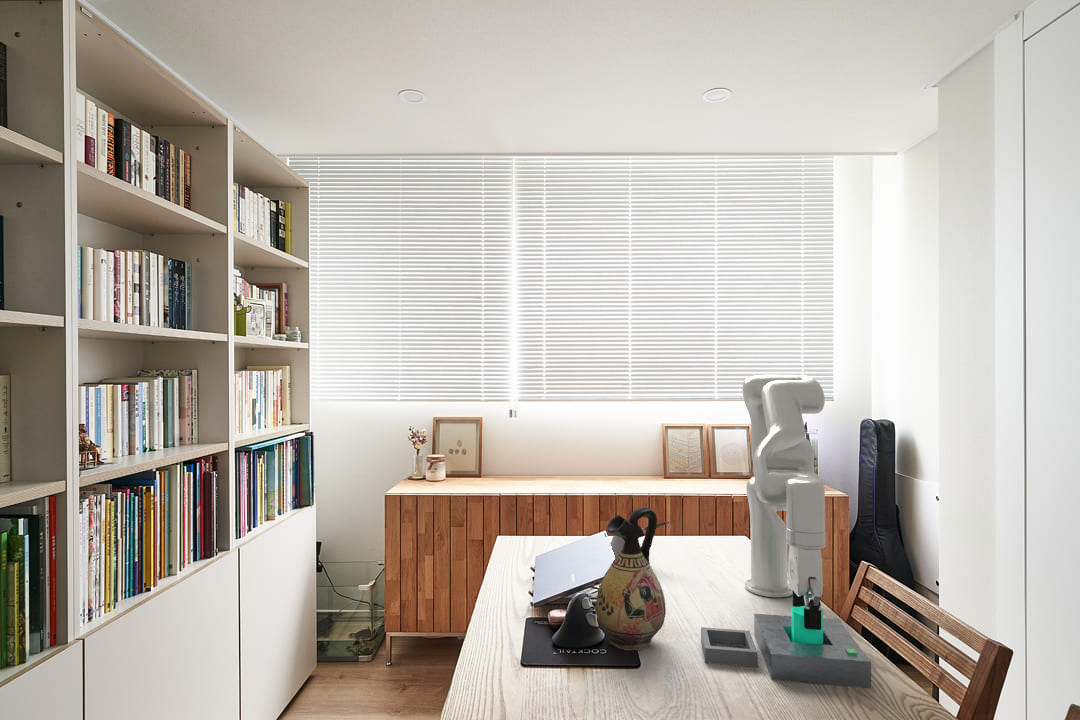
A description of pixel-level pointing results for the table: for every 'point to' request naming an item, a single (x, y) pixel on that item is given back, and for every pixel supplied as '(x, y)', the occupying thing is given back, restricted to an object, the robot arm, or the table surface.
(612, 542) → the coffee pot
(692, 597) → the table surface
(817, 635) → the candle
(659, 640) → the table surface
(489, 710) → the table surface
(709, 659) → the grey square tray
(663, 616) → the ceramic jug
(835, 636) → the port block
